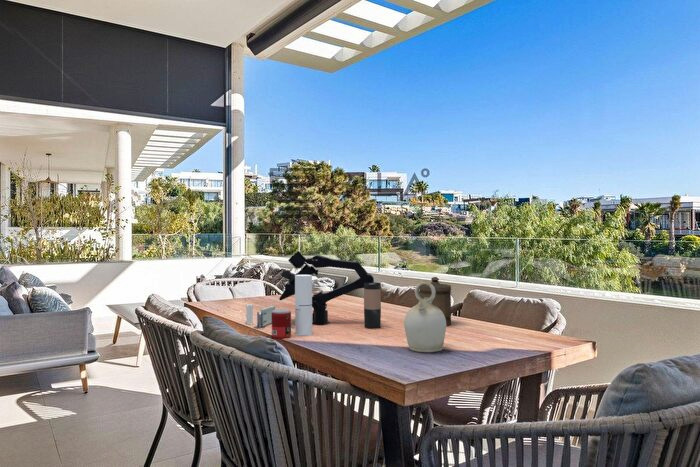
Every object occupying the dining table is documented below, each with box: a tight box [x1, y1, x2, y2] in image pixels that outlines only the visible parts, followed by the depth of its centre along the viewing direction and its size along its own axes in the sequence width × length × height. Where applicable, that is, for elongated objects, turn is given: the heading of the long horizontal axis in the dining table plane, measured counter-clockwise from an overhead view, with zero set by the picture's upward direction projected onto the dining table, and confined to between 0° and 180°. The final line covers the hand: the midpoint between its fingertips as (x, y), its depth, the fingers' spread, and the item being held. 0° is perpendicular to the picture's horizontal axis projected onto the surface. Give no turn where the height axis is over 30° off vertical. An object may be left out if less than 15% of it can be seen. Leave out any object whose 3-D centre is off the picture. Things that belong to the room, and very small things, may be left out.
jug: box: [403, 280, 447, 354], centre depth 188 cm, size 15×16×25 cm
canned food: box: [271, 308, 292, 340], centre depth 211 cm, size 8×8×11 cm
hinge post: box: [253, 311, 267, 329], centre depth 231 cm, size 4×4×7 cm
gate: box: [260, 305, 277, 326], centre depth 239 cm, size 12×2×7 cm, turn 161°
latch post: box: [245, 303, 254, 325], centre depth 243 cm, size 6×3×9 cm, turn 25°
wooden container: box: [419, 276, 452, 327], centre depth 238 cm, size 15×15×22 cm
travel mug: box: [363, 281, 382, 330], centre depth 230 cm, size 8×8×20 cm
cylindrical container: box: [294, 275, 313, 337], centre depth 216 cm, size 7×7×25 cm
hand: (280, 299), depth 241 cm, fingers open, 2 cm apart
